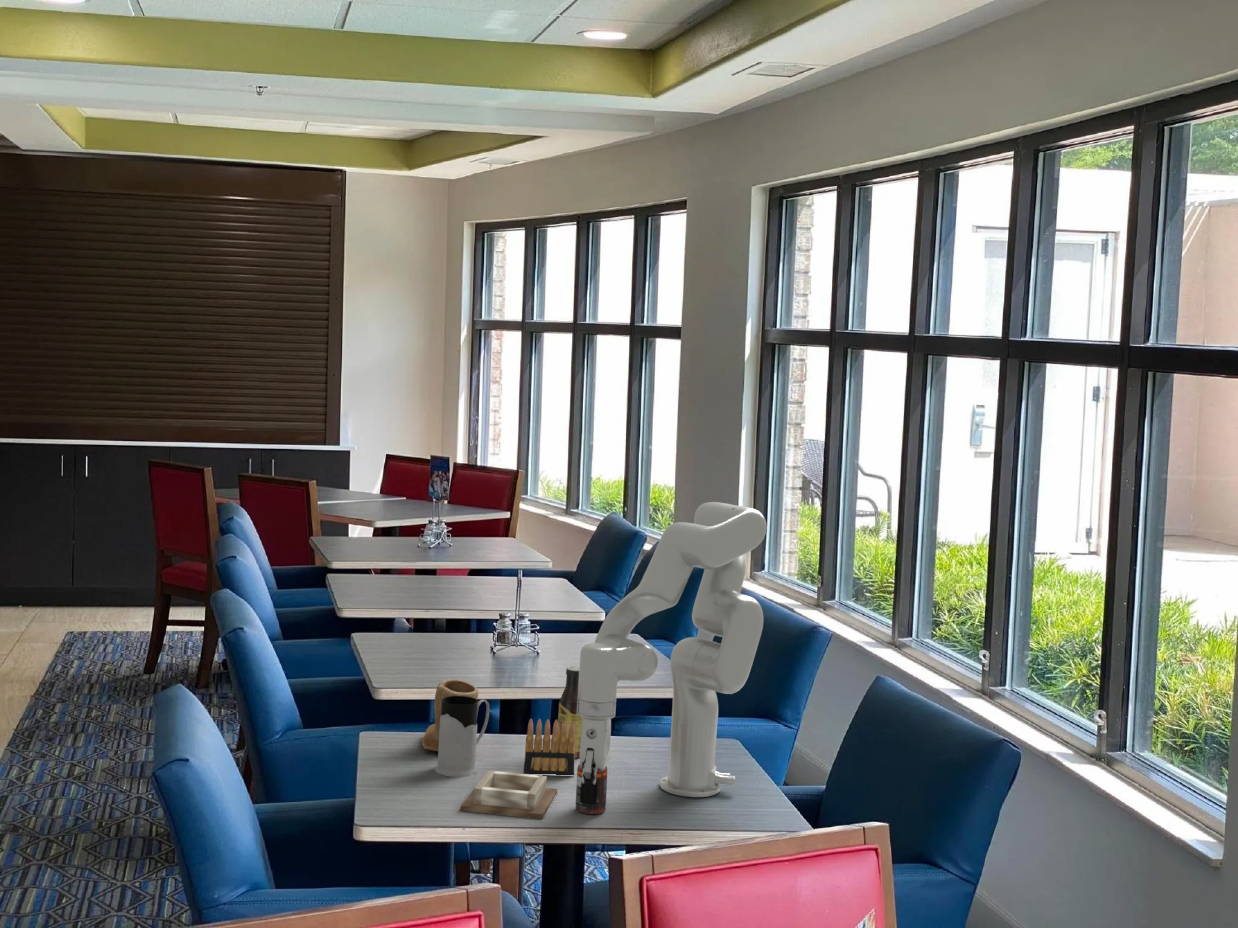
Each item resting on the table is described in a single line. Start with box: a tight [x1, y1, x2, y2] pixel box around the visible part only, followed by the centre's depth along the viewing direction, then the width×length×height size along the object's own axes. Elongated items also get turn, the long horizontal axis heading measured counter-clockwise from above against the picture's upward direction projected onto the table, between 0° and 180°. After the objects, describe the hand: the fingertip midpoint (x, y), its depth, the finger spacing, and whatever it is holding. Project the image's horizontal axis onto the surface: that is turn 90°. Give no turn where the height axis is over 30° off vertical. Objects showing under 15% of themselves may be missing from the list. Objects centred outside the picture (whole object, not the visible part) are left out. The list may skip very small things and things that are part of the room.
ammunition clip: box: [523, 718, 575, 776], centre depth 283 cm, size 11×2×12 cm, turn 94°
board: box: [460, 770, 558, 820], centre depth 264 cm, size 16×16×4 cm
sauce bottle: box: [557, 665, 582, 759], centre depth 297 cm, size 7×6×20 cm
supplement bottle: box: [575, 763, 608, 815], centre depth 261 cm, size 6×6×11 cm
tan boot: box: [421, 678, 479, 752], centre depth 299 cm, size 15×12×15 cm
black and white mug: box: [435, 696, 491, 778], centre depth 284 cm, size 9×14×15 cm, turn 146°
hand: (590, 797), depth 262 cm, fingers closed on supplement bottle, 6 cm apart
